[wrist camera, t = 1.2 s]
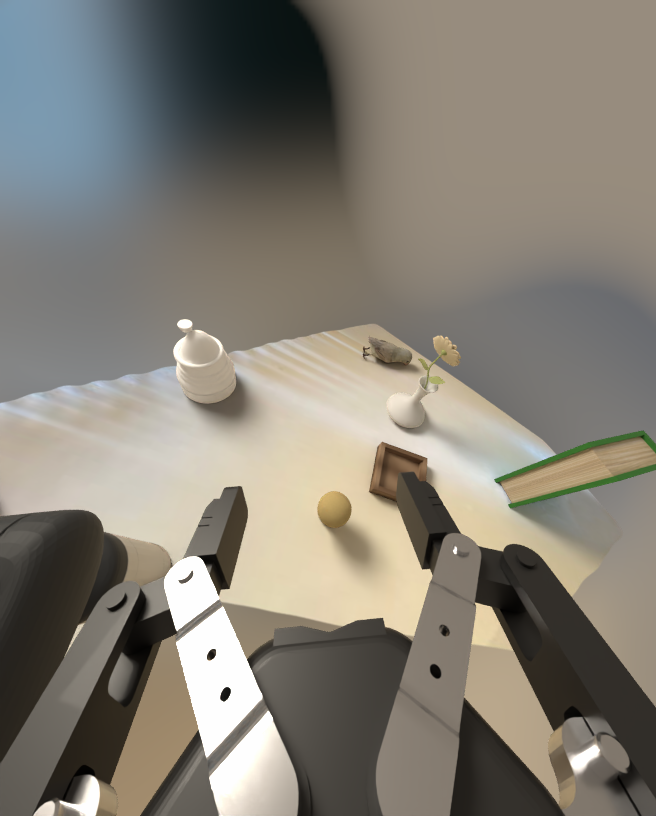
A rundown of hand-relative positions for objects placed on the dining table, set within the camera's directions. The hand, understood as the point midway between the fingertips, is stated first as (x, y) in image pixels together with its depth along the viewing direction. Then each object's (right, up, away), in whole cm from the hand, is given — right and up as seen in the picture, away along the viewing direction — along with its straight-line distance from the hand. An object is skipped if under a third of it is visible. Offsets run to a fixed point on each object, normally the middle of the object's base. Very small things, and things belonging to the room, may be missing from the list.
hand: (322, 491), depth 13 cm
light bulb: (0, -19, +42) cm, 46 cm away
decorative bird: (+18, +20, +71) cm, 76 cm away
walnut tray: (+17, -12, +50) cm, 54 cm away
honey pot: (-30, +11, +53) cm, 62 cm away
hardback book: (+54, -17, +56) cm, 79 cm away
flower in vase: (+22, +3, +61) cm, 65 cm away
